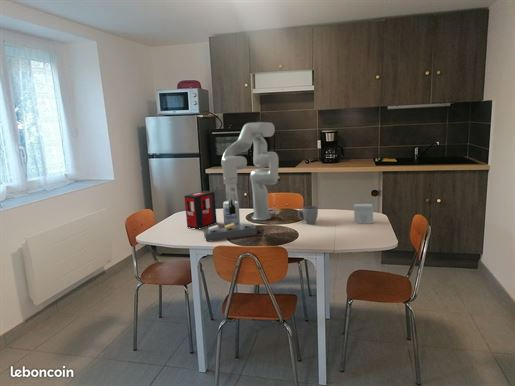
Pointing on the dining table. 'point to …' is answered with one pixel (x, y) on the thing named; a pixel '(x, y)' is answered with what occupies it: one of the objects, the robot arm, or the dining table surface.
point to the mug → (309, 214)
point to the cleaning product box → (200, 209)
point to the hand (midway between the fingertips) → (232, 213)
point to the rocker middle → (229, 225)
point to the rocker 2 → (245, 224)
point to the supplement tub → (231, 217)
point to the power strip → (231, 232)
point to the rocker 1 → (213, 228)
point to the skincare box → (363, 213)
